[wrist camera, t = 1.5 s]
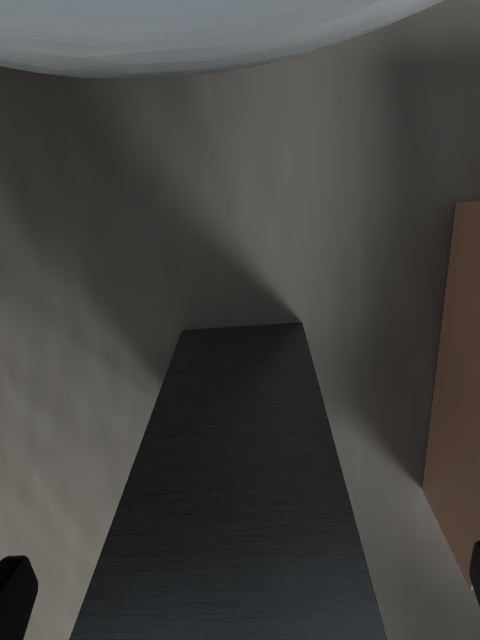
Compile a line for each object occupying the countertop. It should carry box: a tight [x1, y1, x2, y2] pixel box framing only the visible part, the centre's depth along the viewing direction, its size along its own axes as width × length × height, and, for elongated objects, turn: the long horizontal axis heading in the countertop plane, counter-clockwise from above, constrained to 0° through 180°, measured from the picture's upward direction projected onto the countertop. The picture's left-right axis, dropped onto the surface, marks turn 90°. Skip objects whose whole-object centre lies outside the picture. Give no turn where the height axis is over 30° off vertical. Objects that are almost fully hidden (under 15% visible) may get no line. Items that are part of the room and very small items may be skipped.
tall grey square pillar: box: [69, 323, 387, 640], centre depth 10 cm, size 4×4×10 cm
